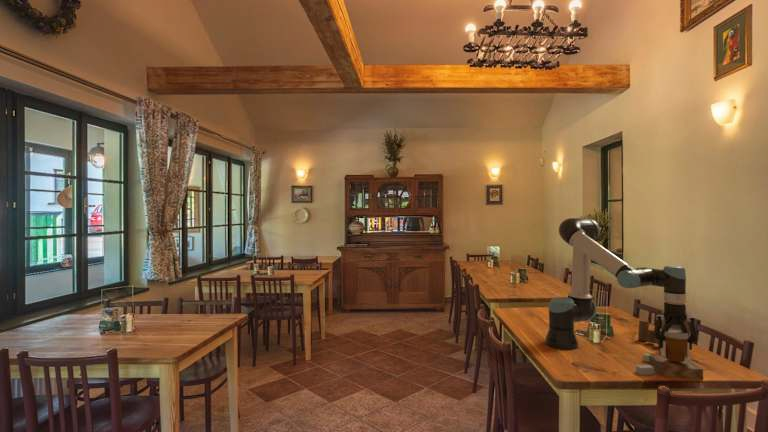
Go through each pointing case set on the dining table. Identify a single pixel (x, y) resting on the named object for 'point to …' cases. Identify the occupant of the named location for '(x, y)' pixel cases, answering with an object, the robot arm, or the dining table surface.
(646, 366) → the brick bluegrey
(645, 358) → the brick sage
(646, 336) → the wooden block set
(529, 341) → the dining table surface
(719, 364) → the dining table surface
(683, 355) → the disposable coffee cup
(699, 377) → the walnut slab
